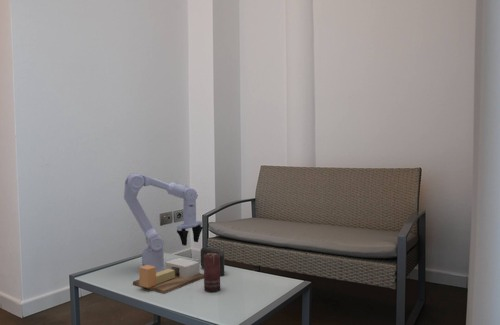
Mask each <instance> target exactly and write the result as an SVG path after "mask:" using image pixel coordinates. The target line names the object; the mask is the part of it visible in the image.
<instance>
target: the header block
mask: <svg viewBox="0 0 500 325" xmlns="http://www.w3.org/2000/svg"><path fill="white" fill-rule="evenodd" d="M200 266H201V264H200V262H199V261H195V260H191V259H187V258H182V257H178V258H174V259H171V260H167V261H165V264H164V267H166V269H172V270H175V274H176V273H180V277H182V278H185V279H186V278H189V277H192V276H194V275H197V274H200V273H201V272H200V271H201V270H200V269H201V267H200Z"/></svg>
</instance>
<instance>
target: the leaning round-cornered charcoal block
mask: <svg viewBox="0 0 500 325" xmlns="http://www.w3.org/2000/svg"><path fill="white" fill-rule="evenodd" d="M207 252H218V253H219V255H220V276H224V274H225V254H224V252H223V251H222V250H220V249H217V248H213V247H202V248H201V249H200V266H201V267H200V268H201V269H203V270H204V254H205V253H207Z"/></svg>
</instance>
